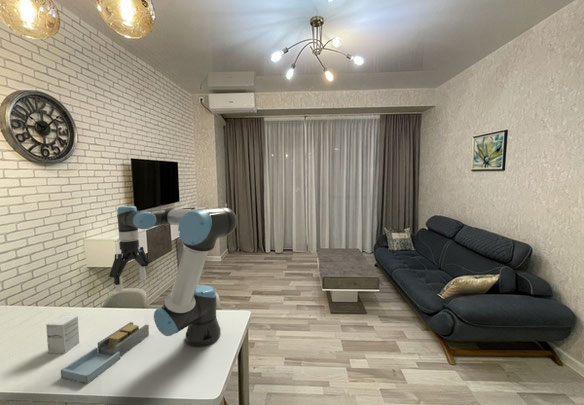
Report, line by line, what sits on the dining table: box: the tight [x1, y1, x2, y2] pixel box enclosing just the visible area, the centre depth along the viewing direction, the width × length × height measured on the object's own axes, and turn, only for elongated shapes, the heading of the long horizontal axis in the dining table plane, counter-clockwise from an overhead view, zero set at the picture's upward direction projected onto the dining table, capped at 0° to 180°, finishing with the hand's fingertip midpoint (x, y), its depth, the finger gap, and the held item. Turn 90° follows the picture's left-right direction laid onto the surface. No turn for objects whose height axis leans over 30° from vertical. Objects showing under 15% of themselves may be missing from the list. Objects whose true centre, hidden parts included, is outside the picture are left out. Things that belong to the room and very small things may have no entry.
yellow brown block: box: [109, 331, 128, 347], centre depth 108 cm, size 5×4×4 cm
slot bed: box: [97, 322, 150, 358], centre depth 111 cm, size 10×16×5 cm, turn 167°
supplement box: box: [46, 315, 80, 354], centre depth 108 cm, size 7×7×13 cm
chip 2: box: [121, 324, 140, 336], centre depth 113 cm, size 5×4×4 cm
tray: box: [60, 346, 121, 385], centre depth 97 cm, size 12×13×3 cm
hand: (132, 285), depth 118 cm, fingers open, 13 cm apart
